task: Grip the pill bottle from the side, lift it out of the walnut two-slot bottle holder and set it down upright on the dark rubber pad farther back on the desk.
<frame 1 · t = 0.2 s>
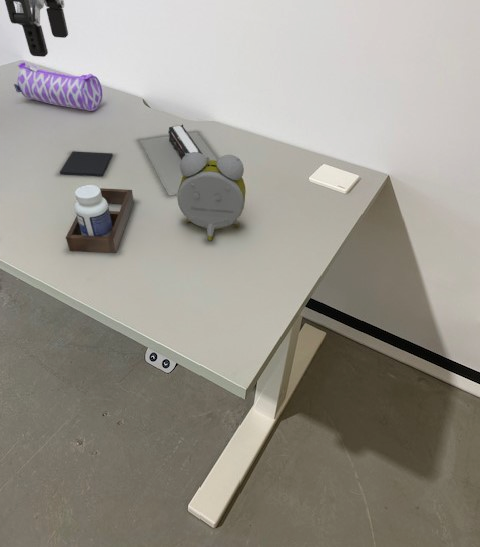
hand: (50, 45, 61), 29 cm above the table, tool pointing down, fingers open, 8 cm apart
pill bottle: (99, 238, 75), resting in bottle holder
alarm clock: (211, 231, 78), on the table
bottle holder: (104, 224, 78), on the table
rubber pad: (87, 164, 93), on the table
pencil case: (64, 104, 115), on the table
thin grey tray: (184, 161, 96), on the table
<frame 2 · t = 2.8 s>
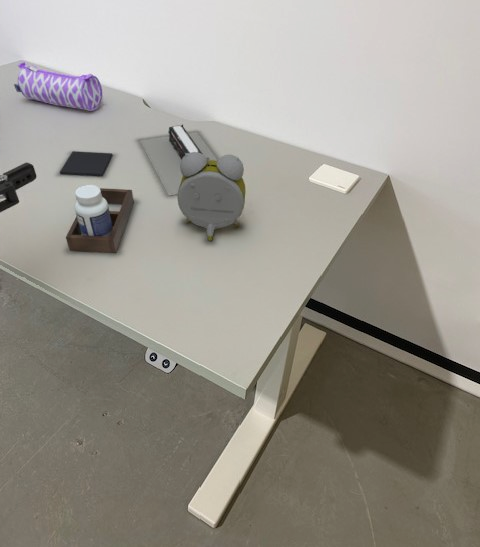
hand: (10, 160, 54), 20 cm above the table, tool horizontal, fingers open, 8 cm apart
nothing on the table moved.
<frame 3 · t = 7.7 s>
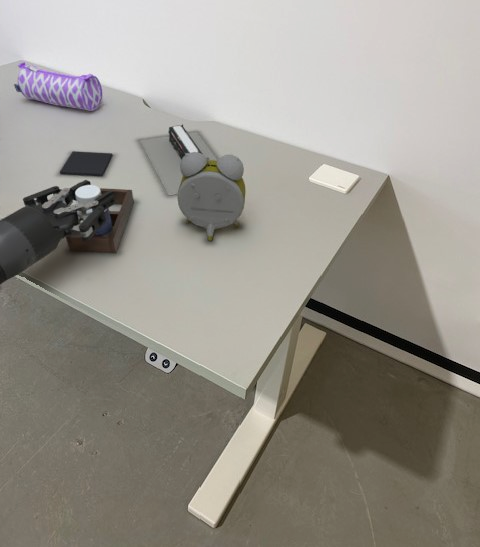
hand: (100, 190, 71), 8 cm above the table, tool horizontal, fingers closed on pill bottle, 5 cm apart
pill bottle: (99, 238, 75), resting in bottle holder, touching gripper
everything else where it was.
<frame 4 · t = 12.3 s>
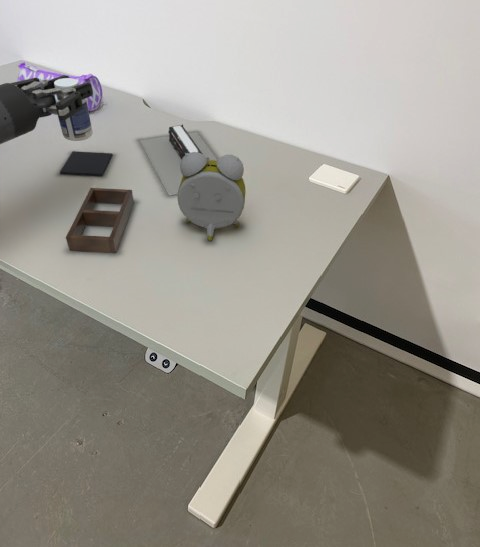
hand: (79, 84, 75), 20 cm above the table, tool horizontal, fingers closed on pill bottle, 5 cm apart
pill bottle: (78, 136, 79), point 11 cm above the table, touching gripper
everything else where it was.
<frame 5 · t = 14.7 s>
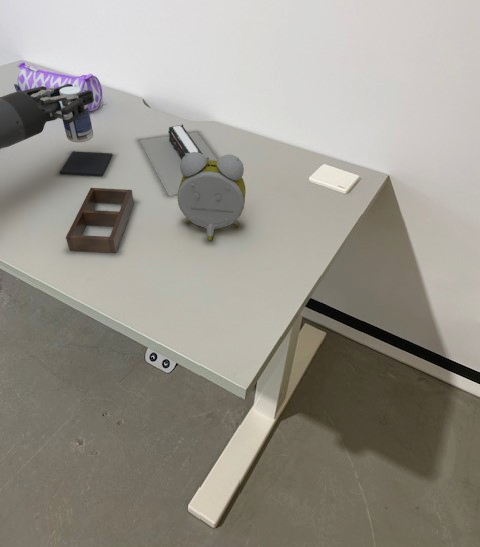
hand: (81, 92, 84), 15 cm above the table, tool horizontal, fingers closed on pill bottle, 5 cm apart
pill bottle: (80, 138, 88), point 6 cm above the table, touching gripper
everything else where it was.
when the fingers open (9 cm above the table, at t = 16.8 s): pill bottle stays where it is, resting on rubber pad.
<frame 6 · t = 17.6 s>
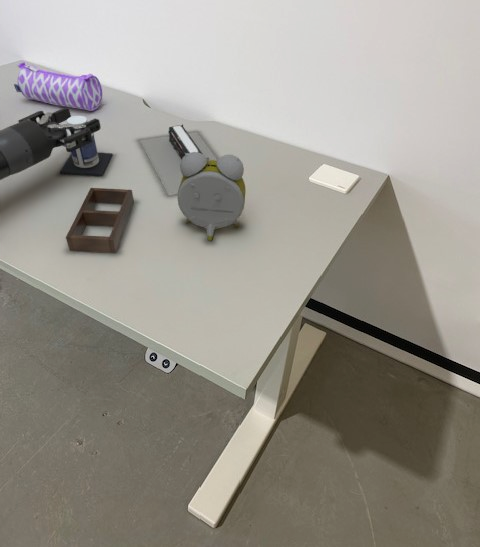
hand: (83, 117, 87), 10 cm above the table, tool horizontal, fingers open, 8 cm apart
pill bottle: (86, 163, 92), resting on rubber pad
everything else where it was.
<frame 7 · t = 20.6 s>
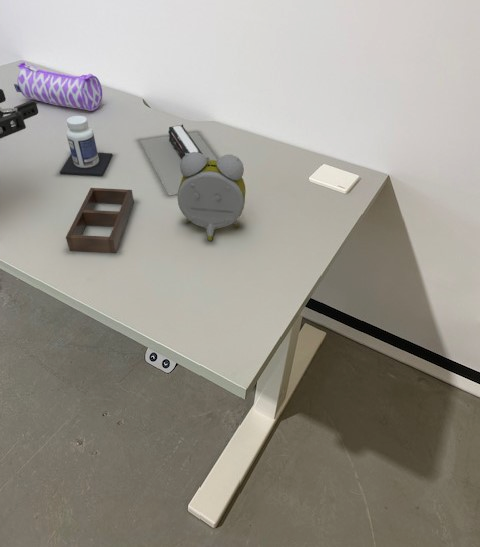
hand: (19, 100, 73), 18 cm above the table, tool horizontal, fingers open, 8 cm apart
nothing on the table moved.
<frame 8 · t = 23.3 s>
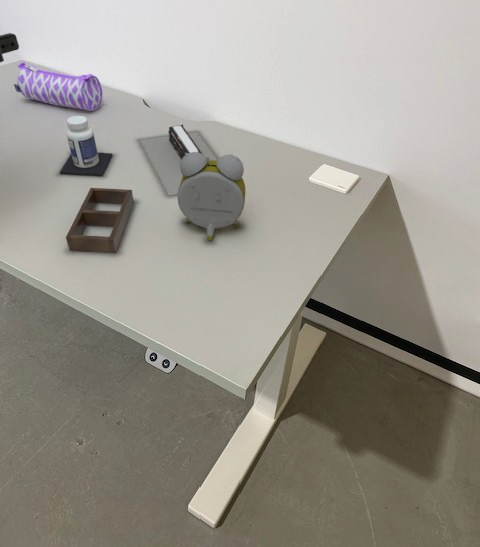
nothing on the table moved.
at the end: pill bottle 0.2 cm off-centre on the rubber pad, point 0.4 cm above the rubber pad's base; pill bottle tilted 0°; the gripper is holding nothing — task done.
